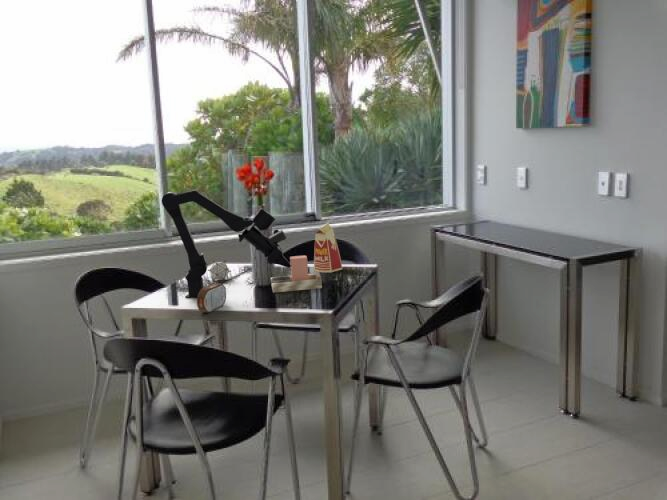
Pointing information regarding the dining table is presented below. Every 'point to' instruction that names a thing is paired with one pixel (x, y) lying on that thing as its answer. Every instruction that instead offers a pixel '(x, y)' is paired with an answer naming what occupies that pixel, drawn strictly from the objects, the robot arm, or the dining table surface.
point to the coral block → (299, 268)
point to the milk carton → (326, 251)
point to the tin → (211, 297)
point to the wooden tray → (296, 283)
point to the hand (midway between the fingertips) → (290, 266)
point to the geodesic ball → (219, 270)
